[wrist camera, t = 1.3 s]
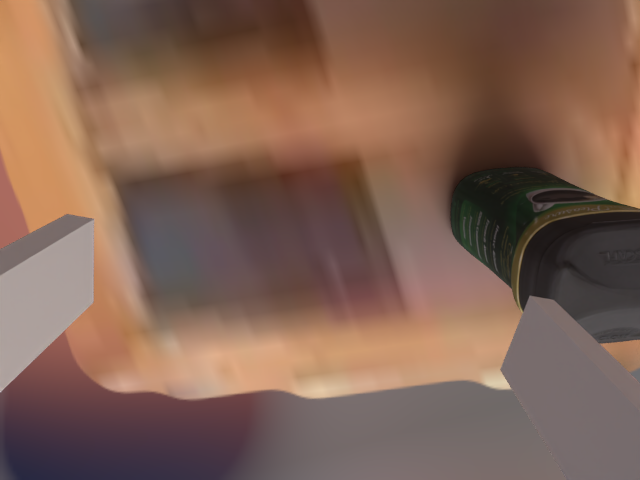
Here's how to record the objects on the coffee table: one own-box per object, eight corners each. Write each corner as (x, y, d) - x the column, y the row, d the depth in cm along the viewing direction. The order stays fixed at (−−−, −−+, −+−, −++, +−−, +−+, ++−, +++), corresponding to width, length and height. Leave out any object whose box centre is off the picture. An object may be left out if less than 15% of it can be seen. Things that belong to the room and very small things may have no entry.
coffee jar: (447, 250, 42) (537, 366, 25) (448, 170, 40) (550, 236, 22) (547, 243, 42) (708, 354, 25) (555, 161, 40) (743, 221, 22)
